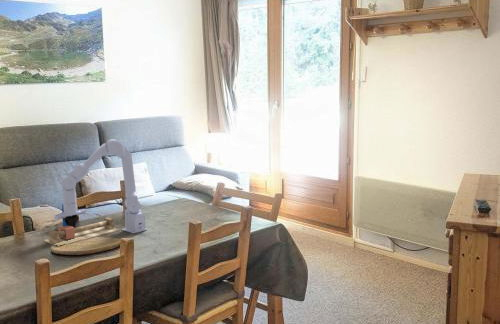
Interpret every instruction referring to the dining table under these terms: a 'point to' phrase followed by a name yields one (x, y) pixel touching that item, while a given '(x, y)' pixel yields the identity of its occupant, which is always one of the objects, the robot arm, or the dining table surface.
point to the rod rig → (84, 231)
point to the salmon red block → (67, 232)
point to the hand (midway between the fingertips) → (71, 232)
